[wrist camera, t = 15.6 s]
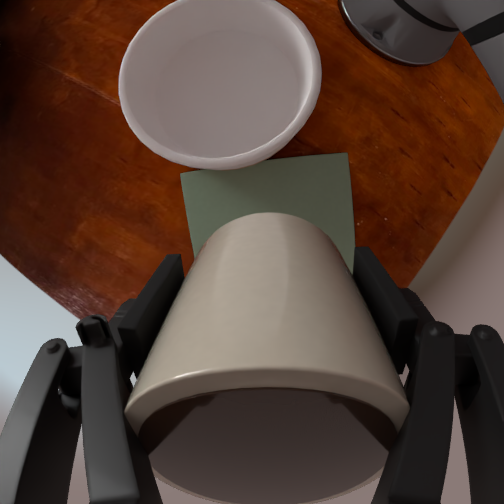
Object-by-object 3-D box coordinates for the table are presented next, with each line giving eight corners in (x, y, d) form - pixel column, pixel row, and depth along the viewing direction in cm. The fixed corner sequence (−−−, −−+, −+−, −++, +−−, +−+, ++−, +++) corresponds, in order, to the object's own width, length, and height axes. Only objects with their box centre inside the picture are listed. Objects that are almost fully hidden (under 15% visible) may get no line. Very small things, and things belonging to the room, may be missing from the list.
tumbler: (201, 347, 20) (182, 214, 16) (338, 345, 19) (352, 211, 16) (162, 500, 10) (70, 354, 6) (373, 499, 9) (463, 349, 5)
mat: (346, 152, 31) (347, 152, 31) (355, 304, 36) (356, 306, 36) (181, 173, 32) (179, 173, 32) (209, 323, 37) (208, 325, 37)
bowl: (251, 4, 27) (250, -36, 19) (337, 119, 30) (362, 103, 22) (123, 81, 29) (89, 59, 21) (199, 202, 32) (181, 210, 24)
